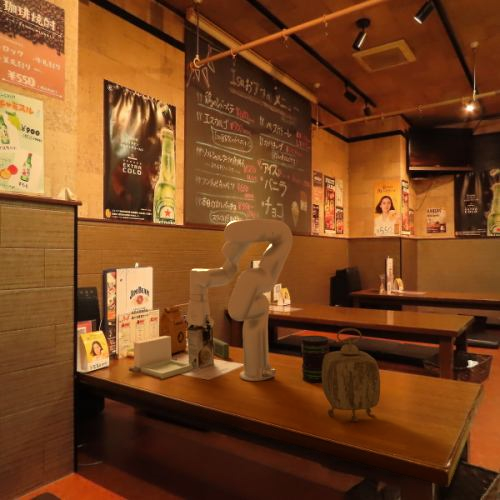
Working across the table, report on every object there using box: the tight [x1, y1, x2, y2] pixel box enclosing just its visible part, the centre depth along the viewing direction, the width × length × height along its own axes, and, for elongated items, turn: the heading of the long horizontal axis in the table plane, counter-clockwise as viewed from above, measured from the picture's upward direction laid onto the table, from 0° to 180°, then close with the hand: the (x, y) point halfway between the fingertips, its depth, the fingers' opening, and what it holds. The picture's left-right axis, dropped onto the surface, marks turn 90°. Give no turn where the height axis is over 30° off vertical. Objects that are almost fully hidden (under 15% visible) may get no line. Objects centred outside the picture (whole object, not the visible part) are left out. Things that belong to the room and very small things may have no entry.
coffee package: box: [158, 305, 188, 355], centre depth 198 cm, size 10×12×22 cm
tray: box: [140, 360, 194, 380], centre depth 166 cm, size 14×15×2 cm
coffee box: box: [187, 326, 215, 370], centre depth 173 cm, size 9×6×16 cm
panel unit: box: [128, 336, 178, 373], centre depth 175 cm, size 6×20×11 cm, turn 138°
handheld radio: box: [213, 336, 230, 360], centre depth 194 cm, size 7×3×25 cm
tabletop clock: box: [321, 327, 381, 423], centre depth 113 cm, size 14×9×25 cm, turn 92°
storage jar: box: [301, 335, 330, 384], centre depth 149 cm, size 10×10×15 cm
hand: (199, 338), depth 173 cm, fingers open, 9 cm apart
